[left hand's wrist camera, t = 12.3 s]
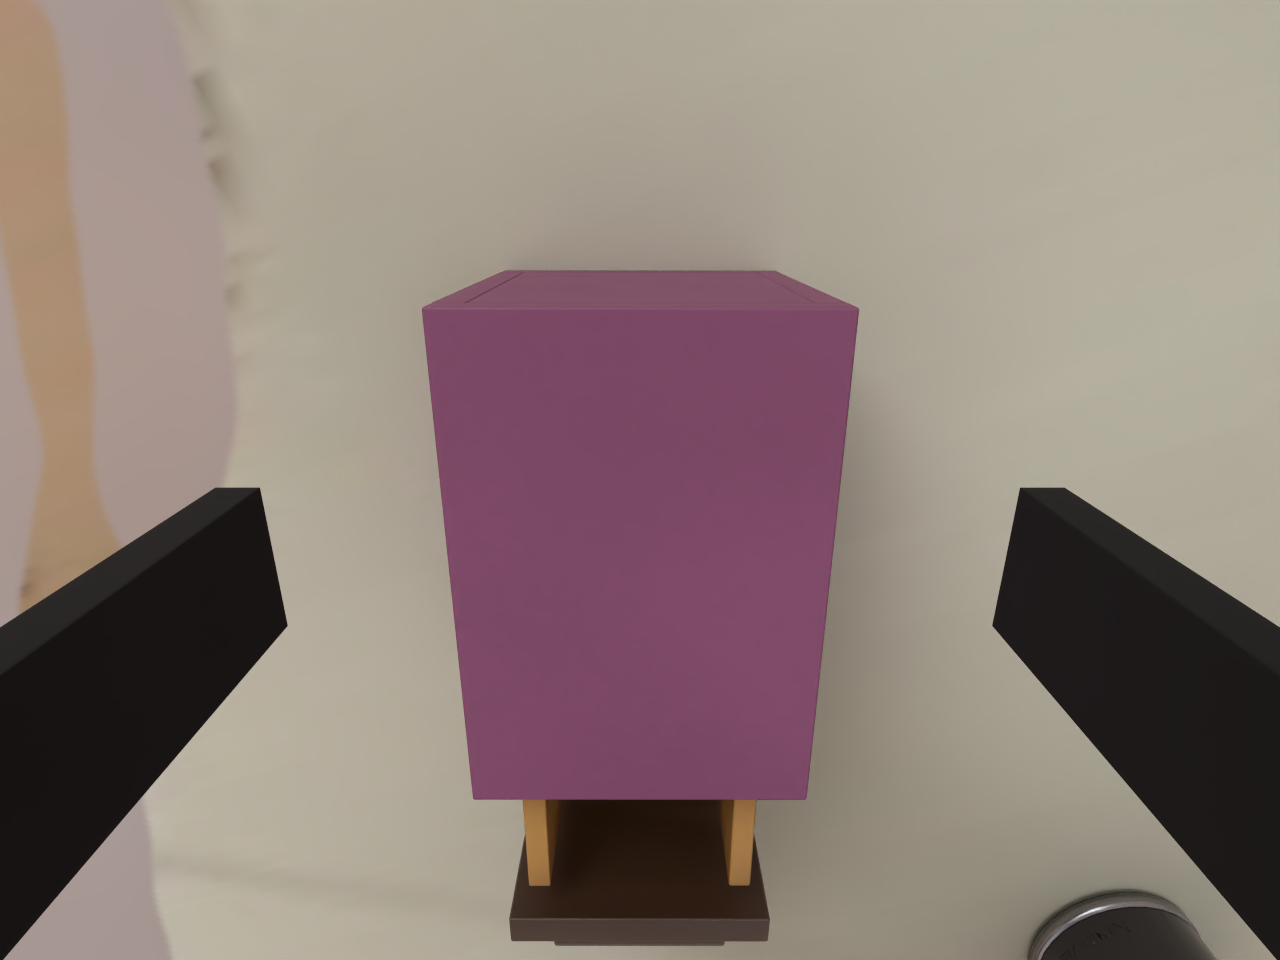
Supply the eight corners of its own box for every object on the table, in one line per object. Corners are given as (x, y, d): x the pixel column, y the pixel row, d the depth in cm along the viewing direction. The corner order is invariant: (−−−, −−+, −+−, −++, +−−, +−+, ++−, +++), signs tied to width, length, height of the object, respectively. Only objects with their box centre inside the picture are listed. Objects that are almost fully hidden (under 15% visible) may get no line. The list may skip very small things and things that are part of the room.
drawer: (730, 840, 38) (759, 1038, 29) (548, 840, 38) (519, 1038, 29) (752, 488, 31) (799, 604, 22) (527, 488, 31) (481, 604, 22)
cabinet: (753, 613, 34) (806, 800, 23) (525, 612, 34) (472, 800, 23) (776, 270, 29) (860, 307, 18) (504, 270, 29) (420, 307, 18)
